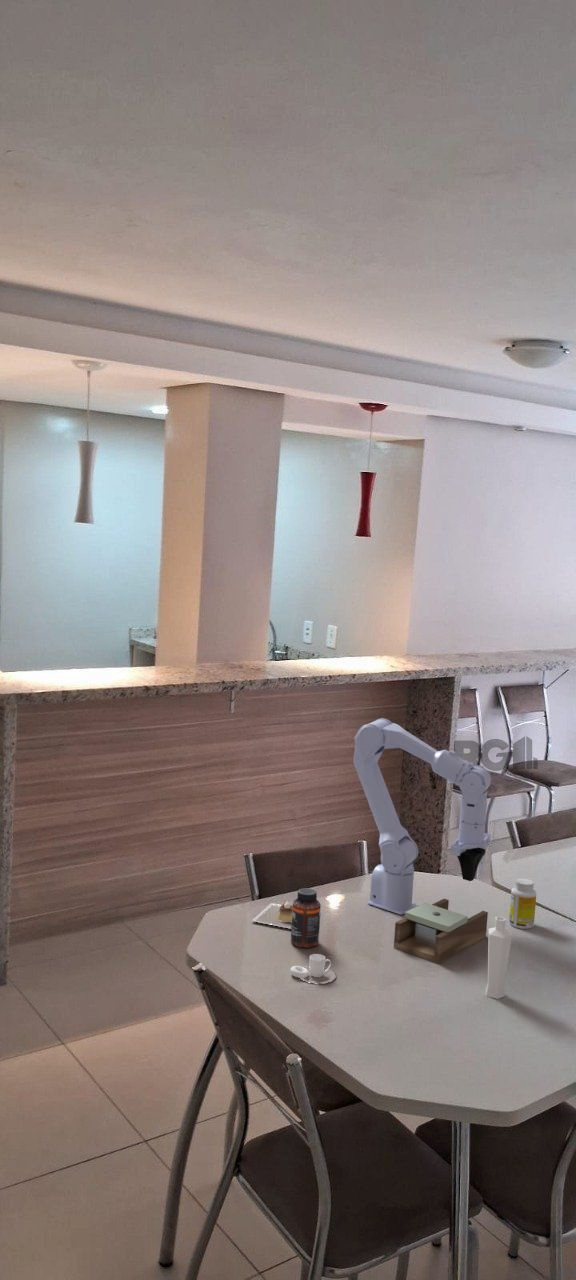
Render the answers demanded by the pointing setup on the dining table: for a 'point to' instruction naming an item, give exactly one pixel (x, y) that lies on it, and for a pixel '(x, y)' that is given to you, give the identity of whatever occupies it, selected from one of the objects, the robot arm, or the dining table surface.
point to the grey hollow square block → (426, 934)
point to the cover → (436, 917)
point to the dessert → (279, 913)
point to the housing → (441, 937)
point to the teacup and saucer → (311, 967)
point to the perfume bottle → (497, 958)
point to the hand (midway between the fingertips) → (468, 879)
